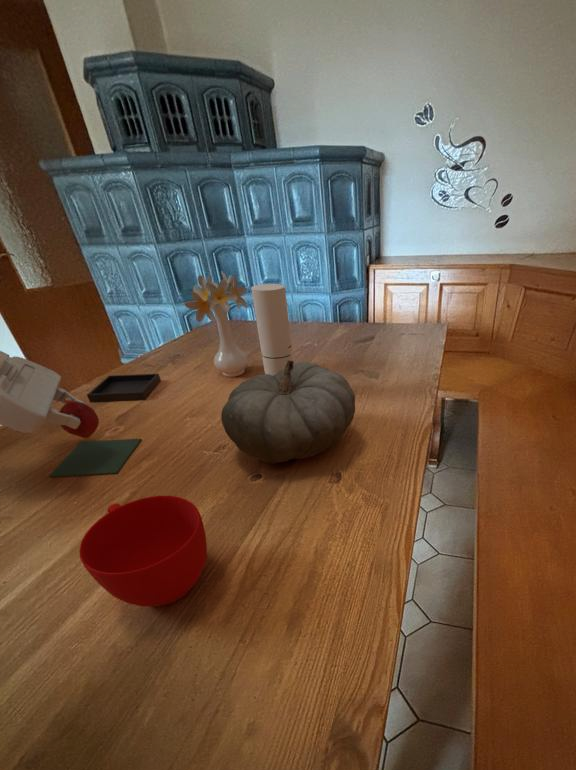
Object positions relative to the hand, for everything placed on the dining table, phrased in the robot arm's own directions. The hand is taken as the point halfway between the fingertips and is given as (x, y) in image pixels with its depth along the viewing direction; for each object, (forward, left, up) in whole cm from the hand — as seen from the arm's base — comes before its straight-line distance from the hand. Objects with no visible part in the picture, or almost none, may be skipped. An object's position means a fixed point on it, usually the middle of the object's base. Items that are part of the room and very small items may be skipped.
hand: (81, 415), depth 70 cm
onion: (-1, 0, -5) cm, 5 cm away
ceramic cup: (+21, -31, -9) cm, 39 cm away
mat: (-1, 0, -9) cm, 9 cm away
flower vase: (+18, +41, -9) cm, 46 cm away
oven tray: (-8, +32, -9) cm, 34 cm away
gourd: (+37, +1, -9) cm, 39 cm away
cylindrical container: (+33, +25, -9) cm, 43 cm away
